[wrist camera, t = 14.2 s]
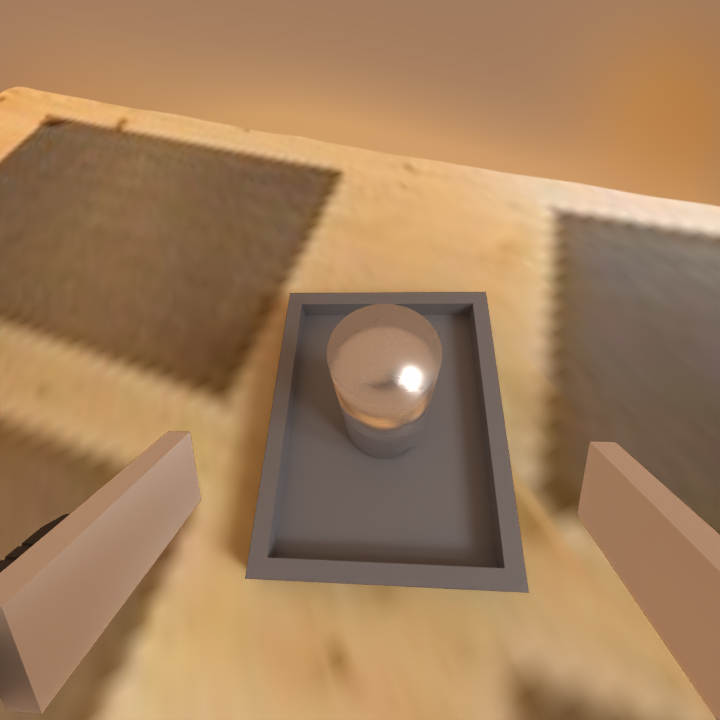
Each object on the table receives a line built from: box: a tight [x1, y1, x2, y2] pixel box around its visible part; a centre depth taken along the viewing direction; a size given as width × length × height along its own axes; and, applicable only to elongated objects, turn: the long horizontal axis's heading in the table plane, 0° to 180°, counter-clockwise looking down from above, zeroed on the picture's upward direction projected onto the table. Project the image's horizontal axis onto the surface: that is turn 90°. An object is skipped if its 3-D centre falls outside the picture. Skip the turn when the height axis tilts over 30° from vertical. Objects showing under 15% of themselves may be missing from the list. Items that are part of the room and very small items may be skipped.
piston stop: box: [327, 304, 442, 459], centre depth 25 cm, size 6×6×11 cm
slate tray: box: [245, 292, 529, 593], centre depth 29 cm, size 17×22×2 cm
